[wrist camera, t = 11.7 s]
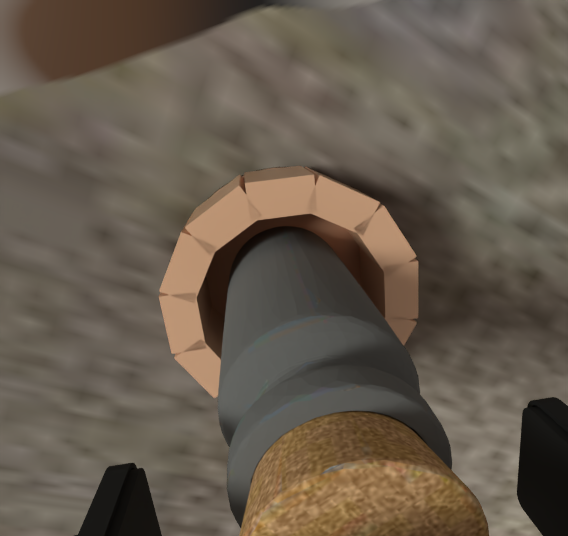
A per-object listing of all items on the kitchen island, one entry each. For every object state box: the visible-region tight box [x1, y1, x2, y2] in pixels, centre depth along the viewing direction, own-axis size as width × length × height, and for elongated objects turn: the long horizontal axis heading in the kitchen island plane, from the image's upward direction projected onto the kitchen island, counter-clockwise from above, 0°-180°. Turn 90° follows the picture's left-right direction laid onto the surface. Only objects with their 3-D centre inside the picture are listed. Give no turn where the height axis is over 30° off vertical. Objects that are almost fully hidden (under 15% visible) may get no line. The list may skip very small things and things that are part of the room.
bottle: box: [218, 226, 489, 536], centre depth 14 cm, size 6×6×15 cm
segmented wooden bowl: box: [159, 166, 418, 398], centre depth 20 cm, size 11×11×5 cm
